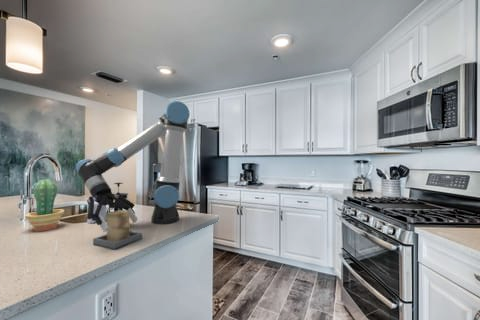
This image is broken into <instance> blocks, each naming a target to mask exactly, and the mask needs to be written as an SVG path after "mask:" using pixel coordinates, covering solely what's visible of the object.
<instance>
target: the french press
mask: <svg viewBox="0 0 480 320" xmlns="http://www.w3.org/2000/svg"><path fill="white" fill-rule="evenodd" d="M113 184H114V185H117V192H119V193H120V194H121V195H122V196H123V197H124V198H126V199H128V196H129V193H127V192H125V193H124V192H120V186H121V184H124V183H123V182H114V183H113ZM115 194H117V193H115ZM127 208H128V207H127ZM111 209H113V210H114V211H118V210H123V211H124V209H123V208H120V207H118V206H116V205H112V204H111V205H108V213H109V212H111ZM114 211H113V212H114Z"/></svg>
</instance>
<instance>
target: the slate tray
mask: <svg viewBox="0 0 480 320" xmlns="http://www.w3.org/2000/svg"><path fill="white" fill-rule="evenodd" d="M142 239H143V233H142V232H137V231H133V230H132V231H131V230H130V237H128V238H125V239H123V240H120V241H117V242H112V241H107V233H106V234H105V235H101V236H97V237H95V238H93V241H92V242H93V244H92V245H93V246H97V247H101V248H105V249H109V250H113V251H115V250H119V249H121V248H123V247H126V246H128V245H130V244H133V243H135V242H138V241H140V240H142Z"/></svg>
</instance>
